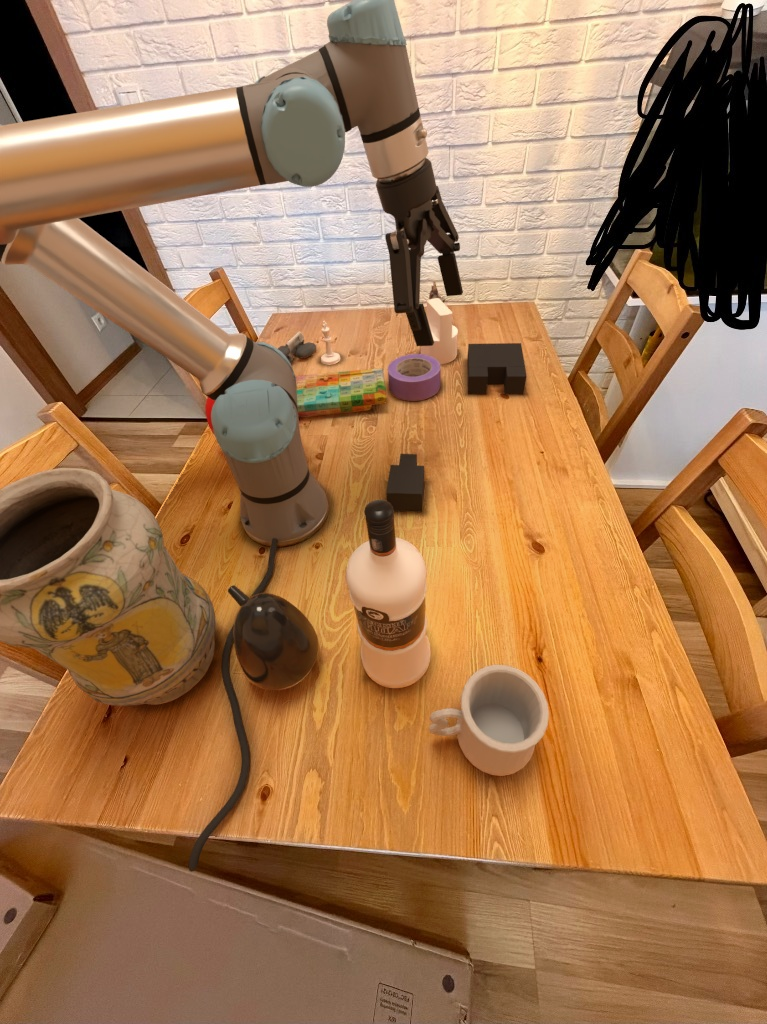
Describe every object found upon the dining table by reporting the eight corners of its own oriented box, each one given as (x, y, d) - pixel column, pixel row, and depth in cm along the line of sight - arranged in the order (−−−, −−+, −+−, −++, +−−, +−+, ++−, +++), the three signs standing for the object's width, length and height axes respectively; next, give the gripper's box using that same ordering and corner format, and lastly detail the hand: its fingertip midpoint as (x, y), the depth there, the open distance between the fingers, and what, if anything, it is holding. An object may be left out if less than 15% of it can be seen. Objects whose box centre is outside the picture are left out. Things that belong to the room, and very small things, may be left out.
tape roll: (385, 376, 109) (383, 357, 105) (433, 369, 110) (433, 349, 106) (393, 405, 101) (392, 385, 97) (445, 397, 102) (446, 377, 98)
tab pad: (422, 512, 79) (422, 494, 76) (387, 510, 80) (386, 492, 77) (425, 472, 86) (425, 454, 83) (393, 471, 87) (392, 453, 84)
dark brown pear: (287, 615, 68) (259, 553, 56) (338, 656, 63) (319, 597, 52) (232, 668, 63) (190, 612, 52) (283, 717, 58) (249, 667, 47)
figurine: (422, 335, 121) (421, 289, 112) (426, 323, 125) (426, 278, 116) (446, 336, 120) (447, 289, 111) (450, 324, 124) (451, 278, 115)
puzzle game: (294, 373, 104) (382, 364, 104) (298, 391, 107) (384, 382, 107) (291, 403, 96) (386, 393, 96) (296, 421, 100) (387, 412, 99)
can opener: (300, 345, 122) (296, 327, 118) (320, 349, 120) (317, 331, 116) (256, 383, 111) (250, 364, 107) (277, 389, 109) (272, 369, 105)
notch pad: (523, 394, 100) (526, 376, 97) (467, 394, 102) (469, 376, 99) (518, 360, 110) (521, 343, 106) (467, 361, 111) (468, 343, 108)
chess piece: (318, 363, 115) (310, 325, 108) (325, 353, 118) (318, 315, 111) (336, 365, 114) (329, 326, 107) (343, 355, 117) (337, 317, 110)
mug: (523, 694, 58) (537, 660, 50) (542, 775, 52) (561, 750, 44) (425, 700, 58) (424, 667, 51) (432, 781, 52) (433, 757, 45)
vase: (114, 757, 56) (-91, 647, 34) (89, 645, 67) (-80, 506, 45) (250, 674, 62) (151, 534, 40) (208, 583, 73) (110, 432, 50)
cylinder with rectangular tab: (415, 350, 116) (414, 302, 107) (448, 342, 118) (449, 295, 109) (428, 367, 110) (428, 318, 101) (462, 359, 112) (465, 310, 103)
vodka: (441, 642, 63) (448, 489, 41) (411, 704, 58) (401, 566, 36) (382, 615, 67) (359, 460, 44) (349, 671, 61) (304, 527, 39)
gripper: (387, 210, 51) (434, 367, 67) (461, 121, 63) (486, 273, 78) (333, 222, 55) (390, 368, 71) (412, 136, 67) (445, 278, 82)
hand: (440, 318), depth 75 cm, fingers open, 13 cm apart
